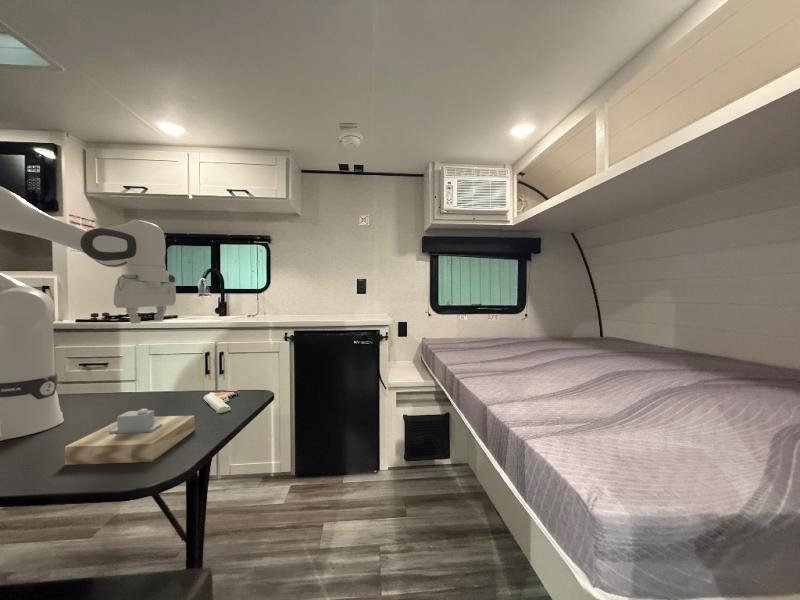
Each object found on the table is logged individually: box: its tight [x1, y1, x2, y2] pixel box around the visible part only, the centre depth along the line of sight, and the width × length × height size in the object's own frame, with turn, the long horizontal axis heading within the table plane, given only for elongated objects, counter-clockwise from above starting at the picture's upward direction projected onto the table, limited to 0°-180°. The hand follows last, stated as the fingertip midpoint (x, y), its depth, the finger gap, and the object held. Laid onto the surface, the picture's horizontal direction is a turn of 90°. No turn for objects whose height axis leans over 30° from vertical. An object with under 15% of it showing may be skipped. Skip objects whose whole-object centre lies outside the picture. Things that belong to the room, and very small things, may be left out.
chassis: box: [64, 415, 196, 466], centre depth 75 cm, size 18×16×4 cm
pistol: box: [202, 388, 238, 414], centre depth 106 cm, size 2×20×11 cm
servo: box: [109, 408, 162, 434], centre depth 75 cm, size 10×3×9 cm, turn 96°
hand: (147, 321), depth 92 cm, fingers open, 8 cm apart
